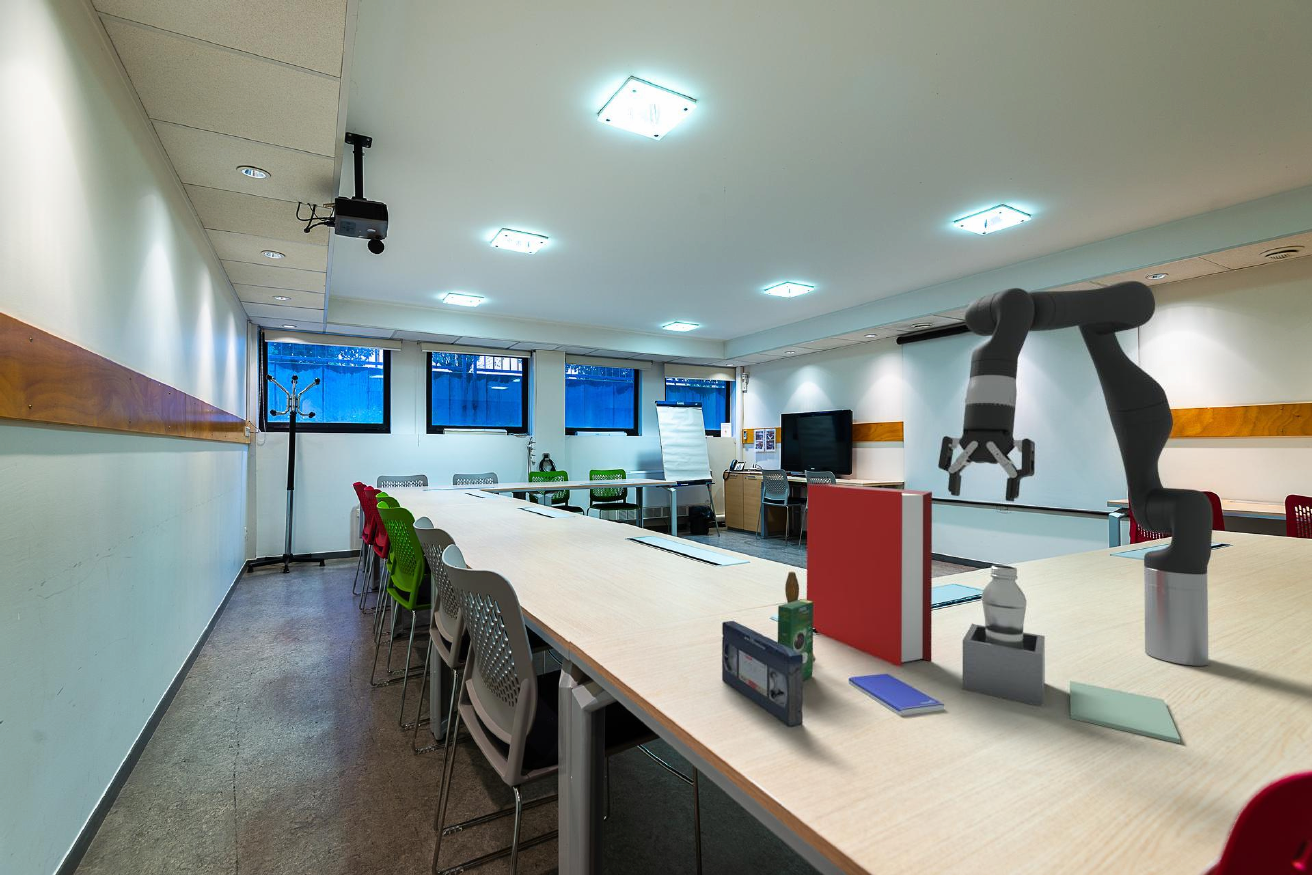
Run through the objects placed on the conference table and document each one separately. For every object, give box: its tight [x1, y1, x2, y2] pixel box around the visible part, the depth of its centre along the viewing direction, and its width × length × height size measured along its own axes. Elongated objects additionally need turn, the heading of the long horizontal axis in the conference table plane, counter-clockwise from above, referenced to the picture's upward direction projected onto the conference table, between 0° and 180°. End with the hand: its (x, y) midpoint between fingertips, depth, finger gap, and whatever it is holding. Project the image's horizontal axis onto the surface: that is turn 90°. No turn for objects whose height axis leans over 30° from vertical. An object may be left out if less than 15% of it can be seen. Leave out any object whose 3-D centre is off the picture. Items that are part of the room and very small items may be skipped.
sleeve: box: [962, 623, 1046, 708], centre depth 96 cm, size 12×11×8 cm
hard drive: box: [848, 673, 945, 717], centre depth 91 cm, size 2×8×12 cm
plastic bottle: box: [981, 564, 1028, 650], centre depth 96 cm, size 6×7×20 cm
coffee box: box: [777, 598, 814, 681], centre depth 97 cm, size 8×3×13 cm, turn 137°
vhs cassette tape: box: [721, 620, 804, 728], centre depth 88 cm, size 18×3×10 cm, turn 23°
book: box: [806, 483, 933, 668], centre depth 118 cm, size 27×8×32 cm, turn 25°
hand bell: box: [784, 571, 816, 661], centre depth 109 cm, size 8×8×16 cm
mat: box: [1069, 680, 1181, 744], centre depth 87 cm, size 16×12×1 cm
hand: (981, 498), depth 97 cm, fingers open, 8 cm apart
